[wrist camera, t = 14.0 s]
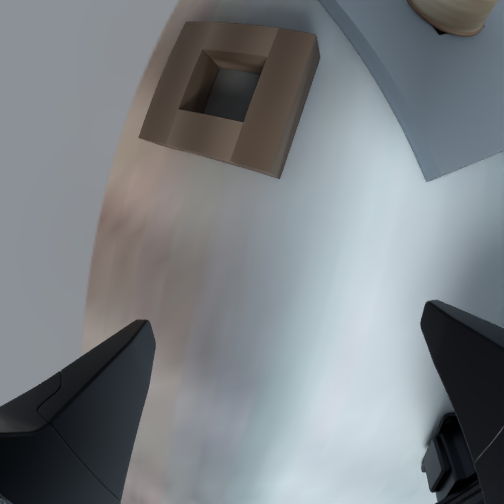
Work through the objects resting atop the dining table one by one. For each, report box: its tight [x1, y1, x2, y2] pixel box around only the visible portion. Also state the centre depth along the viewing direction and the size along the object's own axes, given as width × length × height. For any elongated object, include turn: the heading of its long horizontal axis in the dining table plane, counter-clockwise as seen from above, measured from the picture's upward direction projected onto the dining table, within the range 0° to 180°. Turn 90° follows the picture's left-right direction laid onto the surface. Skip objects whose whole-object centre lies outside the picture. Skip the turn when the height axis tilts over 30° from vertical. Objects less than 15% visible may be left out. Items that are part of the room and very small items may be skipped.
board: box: [318, 0, 504, 182], centre depth 13 cm, size 20×14×3 cm
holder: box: [139, 22, 320, 179], centre depth 17 cm, size 9×9×3 cm
